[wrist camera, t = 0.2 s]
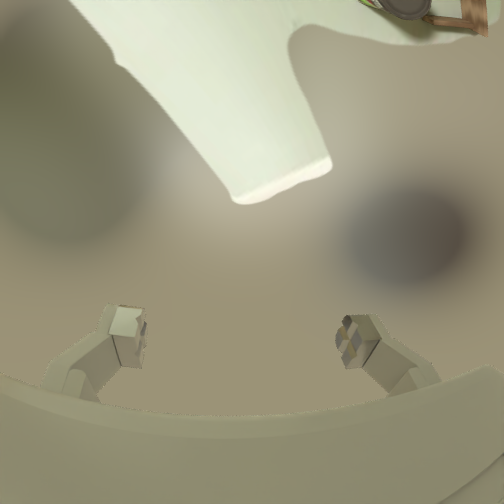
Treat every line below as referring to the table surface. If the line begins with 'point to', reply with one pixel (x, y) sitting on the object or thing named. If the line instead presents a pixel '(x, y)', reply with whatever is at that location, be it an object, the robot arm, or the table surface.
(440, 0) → the table surface
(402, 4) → the coffee can
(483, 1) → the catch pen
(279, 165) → the table surface
